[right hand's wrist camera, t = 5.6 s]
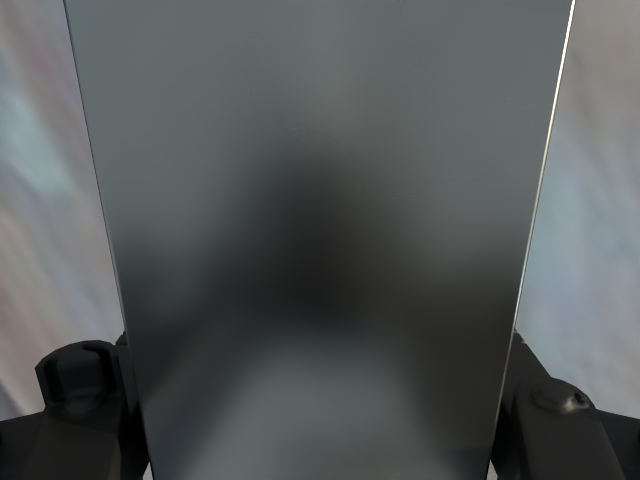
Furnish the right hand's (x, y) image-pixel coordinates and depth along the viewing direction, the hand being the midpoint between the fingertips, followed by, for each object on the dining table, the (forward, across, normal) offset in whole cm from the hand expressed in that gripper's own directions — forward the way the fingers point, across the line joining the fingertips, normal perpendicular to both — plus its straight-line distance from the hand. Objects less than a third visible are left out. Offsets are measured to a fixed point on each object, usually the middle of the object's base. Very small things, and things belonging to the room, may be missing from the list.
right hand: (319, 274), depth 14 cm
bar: (+1, 0, -10) cm, 10 cm away
